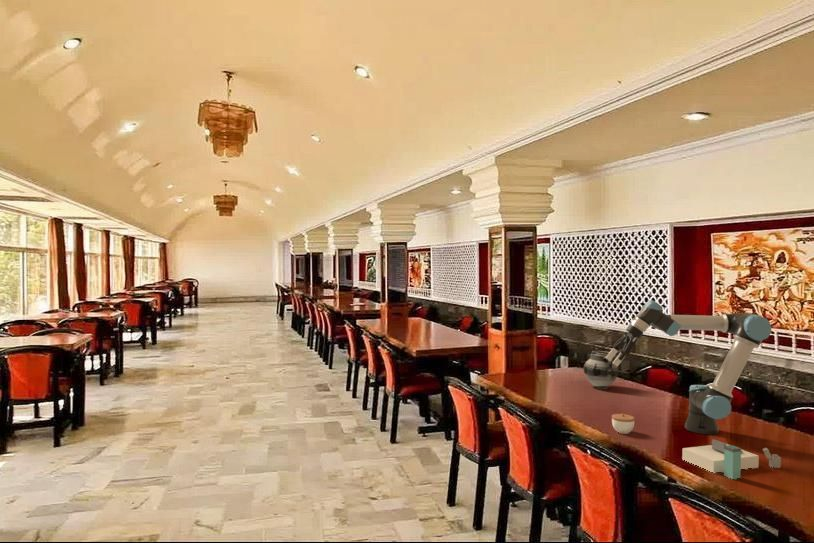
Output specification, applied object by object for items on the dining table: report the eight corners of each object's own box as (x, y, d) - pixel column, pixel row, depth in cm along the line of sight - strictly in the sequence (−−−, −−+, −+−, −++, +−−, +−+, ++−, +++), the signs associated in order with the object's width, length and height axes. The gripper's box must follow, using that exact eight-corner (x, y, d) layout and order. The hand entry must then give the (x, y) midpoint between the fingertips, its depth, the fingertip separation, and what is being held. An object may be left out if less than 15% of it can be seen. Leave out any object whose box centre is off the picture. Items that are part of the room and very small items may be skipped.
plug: (731, 474, 217) (732, 445, 216) (740, 478, 213) (741, 448, 213) (723, 475, 215) (724, 445, 215) (732, 479, 211) (733, 449, 211)
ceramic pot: (575, 383, 385) (576, 348, 384) (605, 383, 387) (606, 348, 387) (594, 393, 356) (595, 355, 356) (627, 392, 359) (628, 355, 359)
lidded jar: (620, 436, 265) (620, 417, 265) (607, 429, 275) (607, 411, 275) (639, 434, 268) (639, 415, 268) (624, 428, 278) (625, 410, 278)
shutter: (726, 447, 235) (726, 436, 235) (742, 453, 227) (742, 442, 227) (709, 448, 232) (710, 438, 232) (725, 455, 225) (726, 444, 225)
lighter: (777, 466, 227) (778, 447, 227) (781, 467, 225) (781, 448, 225) (761, 466, 226) (762, 447, 226) (765, 468, 225) (765, 448, 224)
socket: (725, 454, 240) (725, 443, 240) (758, 467, 225) (758, 455, 225) (682, 459, 233) (682, 448, 233) (713, 473, 218) (713, 461, 218)
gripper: (623, 320, 281) (599, 353, 283) (638, 326, 256) (611, 362, 258) (636, 329, 280) (611, 361, 282) (651, 336, 256) (624, 371, 258)
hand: (611, 362), depth 270 cm, fingers open, 13 cm apart
